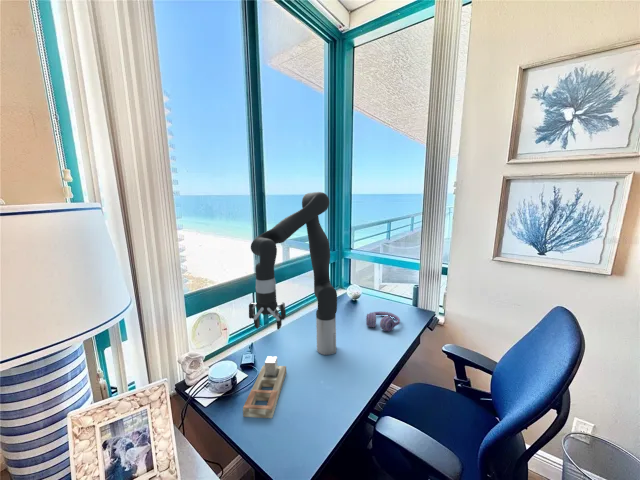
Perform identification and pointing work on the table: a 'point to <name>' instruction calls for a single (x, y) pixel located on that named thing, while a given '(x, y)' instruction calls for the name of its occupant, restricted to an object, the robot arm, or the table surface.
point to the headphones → (382, 320)
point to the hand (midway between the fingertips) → (268, 328)
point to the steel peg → (271, 367)
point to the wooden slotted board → (264, 394)
